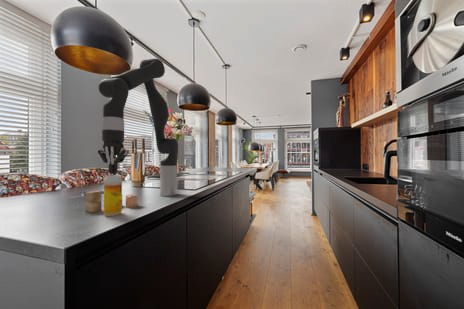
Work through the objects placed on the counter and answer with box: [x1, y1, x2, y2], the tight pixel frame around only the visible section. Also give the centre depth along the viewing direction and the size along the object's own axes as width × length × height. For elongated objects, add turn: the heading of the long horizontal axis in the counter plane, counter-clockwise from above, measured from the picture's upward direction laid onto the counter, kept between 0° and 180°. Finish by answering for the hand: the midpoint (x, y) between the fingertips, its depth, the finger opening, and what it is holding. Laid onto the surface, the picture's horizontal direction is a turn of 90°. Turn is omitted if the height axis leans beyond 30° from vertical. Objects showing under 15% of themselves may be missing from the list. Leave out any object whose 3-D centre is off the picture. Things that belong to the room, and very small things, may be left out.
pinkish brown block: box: [125, 193, 139, 209], centre depth 93 cm, size 5×5×5 cm
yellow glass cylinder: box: [103, 174, 123, 217], centre depth 80 cm, size 6×6×15 cm
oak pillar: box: [84, 190, 103, 213], centre depth 85 cm, size 4×4×8 cm
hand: (113, 173), depth 80 cm, fingers closed
